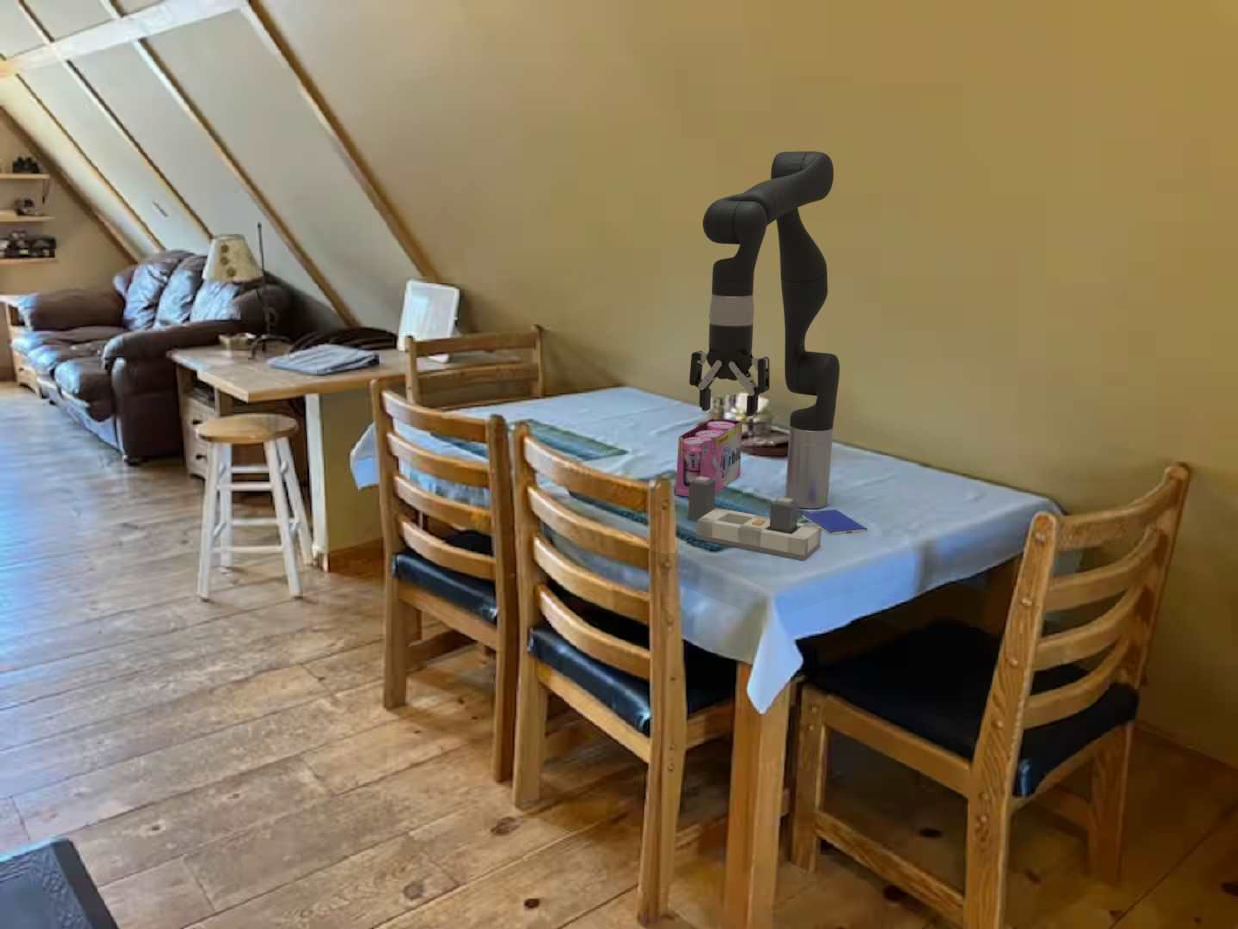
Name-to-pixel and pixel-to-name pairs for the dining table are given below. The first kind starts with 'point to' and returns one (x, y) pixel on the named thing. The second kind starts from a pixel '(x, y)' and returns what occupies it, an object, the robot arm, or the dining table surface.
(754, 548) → the strip
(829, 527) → the hard drive
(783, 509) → the twin plug
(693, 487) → the plug
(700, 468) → the gum box
